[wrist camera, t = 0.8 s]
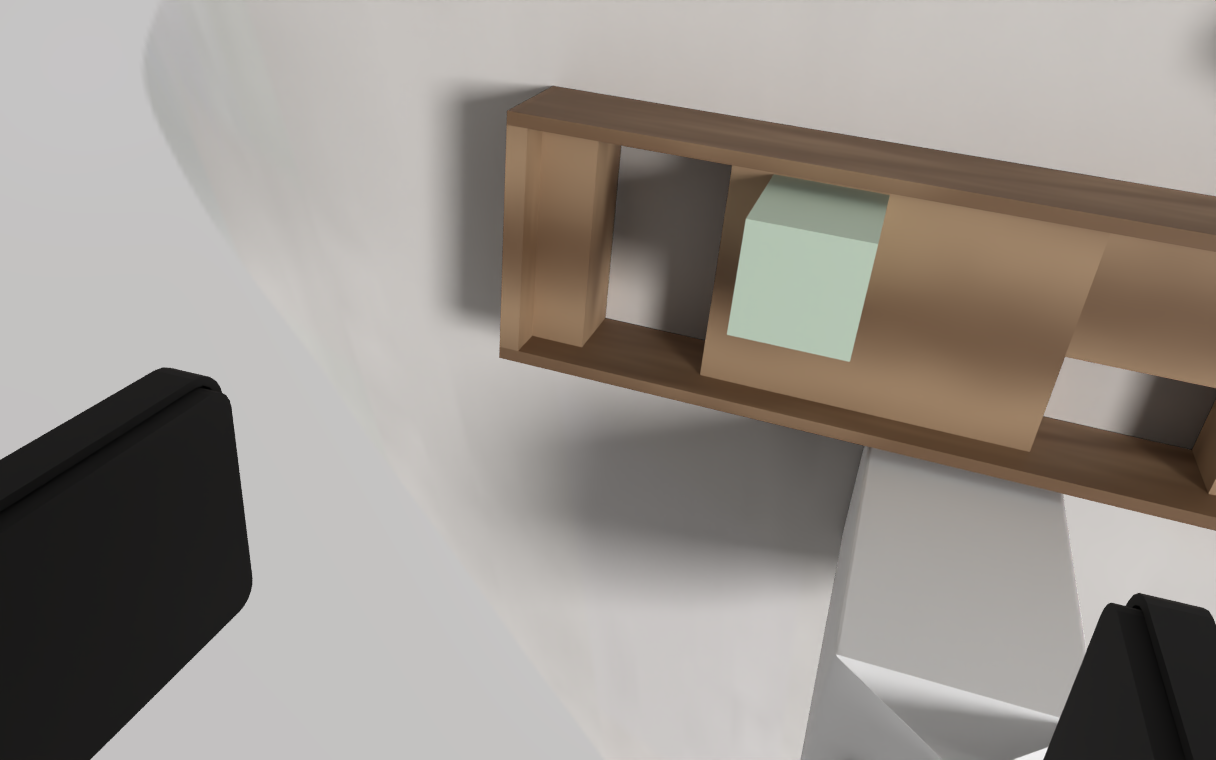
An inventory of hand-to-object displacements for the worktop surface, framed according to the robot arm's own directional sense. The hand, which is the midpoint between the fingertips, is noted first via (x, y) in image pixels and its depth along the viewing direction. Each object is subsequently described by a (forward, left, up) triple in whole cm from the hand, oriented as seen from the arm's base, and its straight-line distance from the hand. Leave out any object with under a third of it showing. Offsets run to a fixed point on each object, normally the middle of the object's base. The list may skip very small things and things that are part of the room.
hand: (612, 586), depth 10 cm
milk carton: (+16, +7, -29) cm, 34 cm away
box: (+7, +6, -29) cm, 30 cm away
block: (+5, 0, -26) cm, 26 cm away
